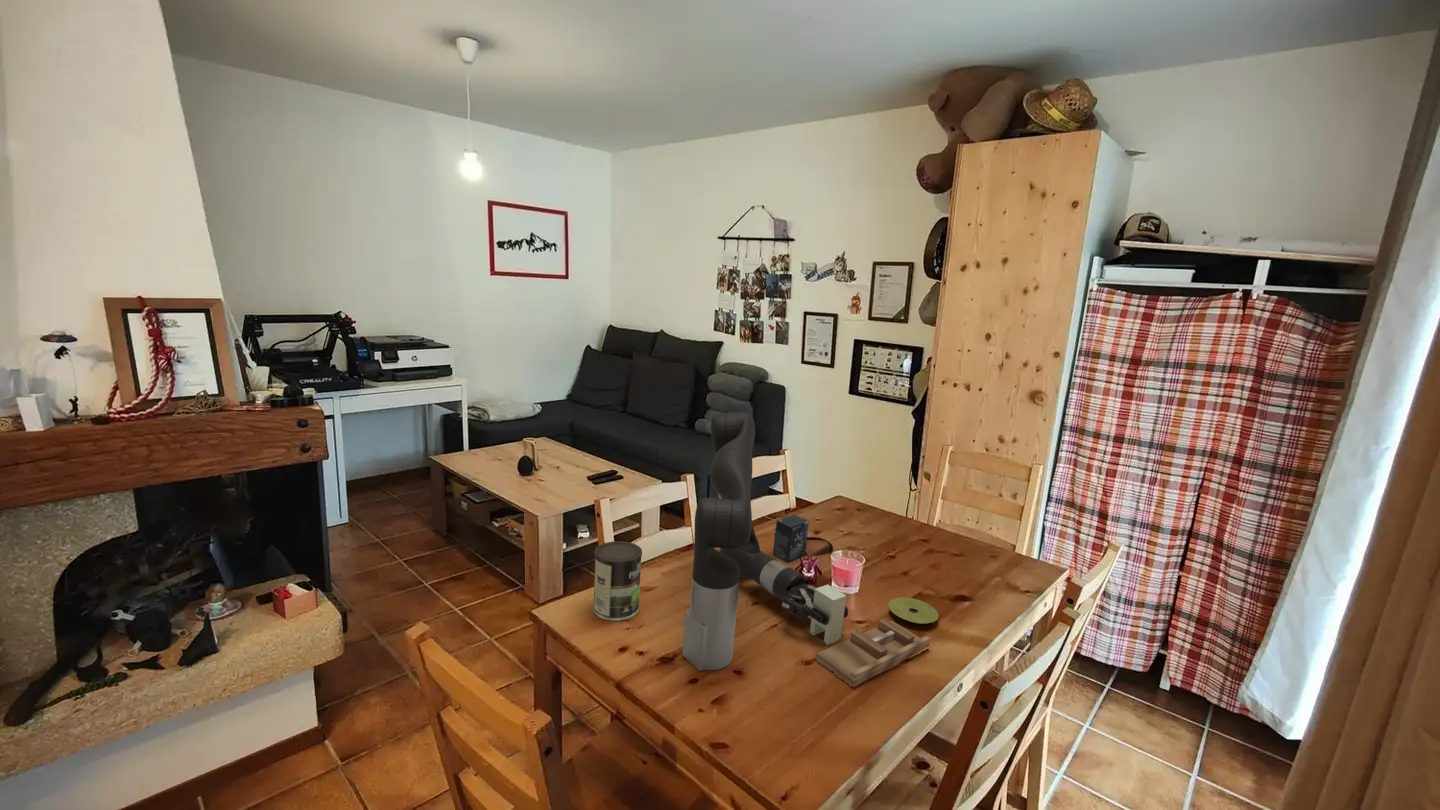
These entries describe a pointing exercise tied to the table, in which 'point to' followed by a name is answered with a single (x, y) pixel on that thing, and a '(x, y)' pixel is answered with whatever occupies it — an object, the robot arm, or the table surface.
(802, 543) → the box
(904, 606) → the green washer
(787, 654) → the table surface
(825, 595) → the clip
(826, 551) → the sunglasses case
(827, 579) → the table surface
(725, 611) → the robot arm
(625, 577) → the coffee can
